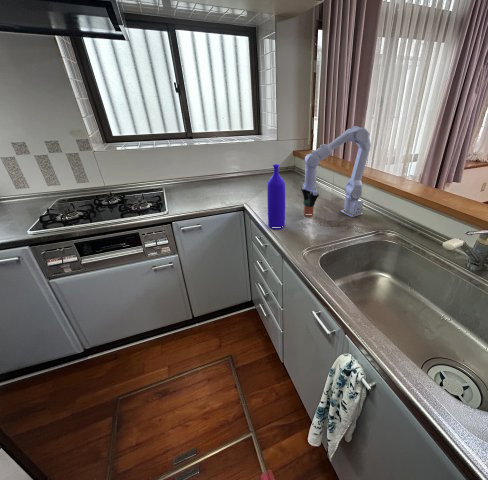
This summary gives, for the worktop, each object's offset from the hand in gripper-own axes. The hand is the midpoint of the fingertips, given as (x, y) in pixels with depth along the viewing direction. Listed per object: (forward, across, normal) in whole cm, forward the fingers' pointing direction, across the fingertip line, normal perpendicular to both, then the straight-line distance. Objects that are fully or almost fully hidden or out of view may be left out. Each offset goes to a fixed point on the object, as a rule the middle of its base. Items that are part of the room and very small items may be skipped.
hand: (309, 204), depth 141 cm
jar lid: (-1, 0, 0) cm, 1 cm away
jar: (+6, 0, 0) cm, 6 cm away
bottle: (+7, +8, -20) cm, 23 cm away
